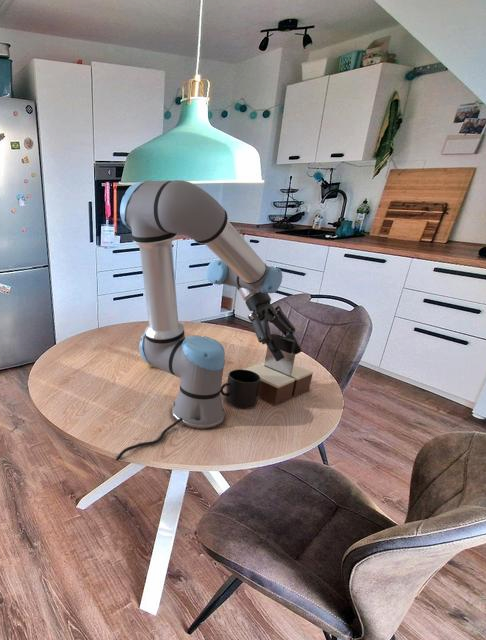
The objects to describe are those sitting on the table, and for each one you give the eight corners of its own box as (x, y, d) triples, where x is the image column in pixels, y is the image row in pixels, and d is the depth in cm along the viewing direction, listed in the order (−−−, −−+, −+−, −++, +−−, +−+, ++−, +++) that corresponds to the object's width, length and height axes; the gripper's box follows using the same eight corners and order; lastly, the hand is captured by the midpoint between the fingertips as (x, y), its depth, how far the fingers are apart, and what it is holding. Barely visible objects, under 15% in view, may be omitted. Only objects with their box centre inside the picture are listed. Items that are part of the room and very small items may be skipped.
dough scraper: (288, 377, 123) (295, 342, 118) (262, 366, 131) (268, 333, 126) (292, 376, 124) (299, 341, 119) (266, 365, 132) (271, 332, 127)
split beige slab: (274, 405, 121) (278, 386, 118) (239, 387, 131) (241, 369, 129) (309, 390, 129) (313, 371, 126) (273, 374, 140) (276, 357, 137)
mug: (213, 395, 126) (215, 370, 123) (247, 392, 128) (251, 368, 124) (224, 410, 118) (228, 384, 114) (261, 407, 119) (266, 381, 116)
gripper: (267, 297, 136) (300, 353, 131) (225, 306, 126) (259, 368, 120) (283, 285, 130) (318, 344, 124) (240, 294, 120) (276, 359, 114)
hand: (289, 356), depth 122 cm, fingers open, 8 cm apart
